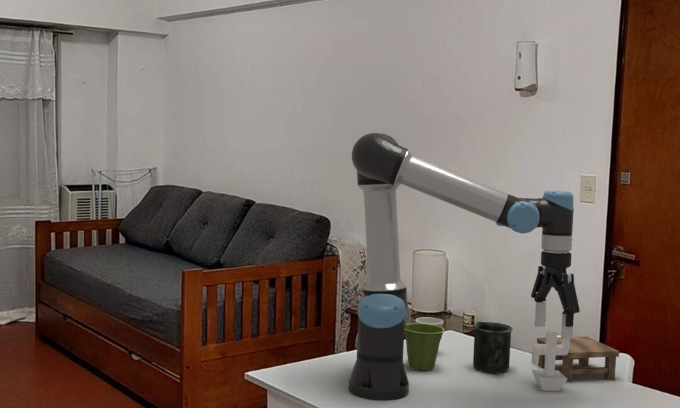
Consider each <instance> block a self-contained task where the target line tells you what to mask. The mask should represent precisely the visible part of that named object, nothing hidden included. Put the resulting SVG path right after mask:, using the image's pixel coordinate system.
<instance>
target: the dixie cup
mask: <svg viewBox="0 0 680 408" xmlns="http://www.w3.org/2000/svg"><path fill="white" fill-rule="evenodd" d="M415 323H424V324H432V325H437V326H440V327H442V328H443V325H444V319H440V318H438V317H437V318H436V317H428V316H427V317H417V318H416V319H415Z"/></svg>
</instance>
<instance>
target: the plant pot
mask: <svg viewBox="0 0 680 408" xmlns="http://www.w3.org/2000/svg"><path fill="white" fill-rule="evenodd" d="M445 332H446V330H445V328H444V327H443V326H442V327H440V326H437V325H432V324H424V323H416V322H413V323H406V326H405V329H404V338H405V342H406V353H407V354H406V355H407V365H408V367H409V368H411V369H413V370H416V371H417V370H422V371H425V372H427V371H431V370H433V369H435V366H436V361H437V357H438V353H439V349H440V348H439V347H440V343H441V340H442V337H443V333H445Z"/></svg>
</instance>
